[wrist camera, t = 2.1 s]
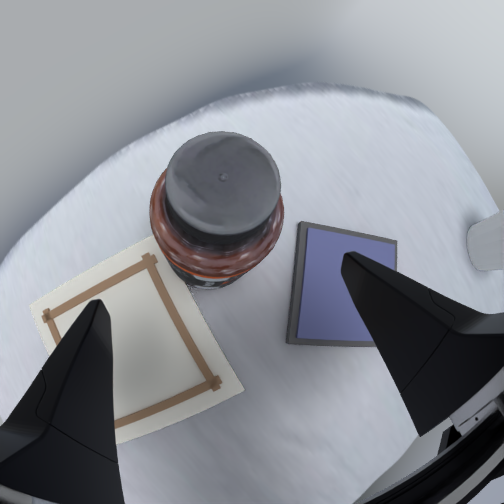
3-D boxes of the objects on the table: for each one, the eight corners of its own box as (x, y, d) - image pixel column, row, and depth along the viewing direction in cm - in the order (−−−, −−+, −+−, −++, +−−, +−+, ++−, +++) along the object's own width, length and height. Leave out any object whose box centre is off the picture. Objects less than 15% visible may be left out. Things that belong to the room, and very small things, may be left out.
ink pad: (385, 345, 21) (392, 347, 20) (285, 342, 20) (289, 344, 19) (392, 242, 23) (399, 240, 22) (298, 223, 21) (302, 219, 20)
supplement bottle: (226, 305, 19) (261, 304, 8) (152, 264, 19) (99, 212, 8) (263, 233, 21) (330, 158, 10) (193, 194, 20) (195, 89, 10)
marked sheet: (244, 389, 19) (245, 391, 18) (104, 447, 16) (103, 450, 15) (160, 231, 20) (159, 229, 19) (30, 304, 17) (26, 304, 16)
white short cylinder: (491, 231, 26) (531, 218, 19) (490, 282, 24) (533, 275, 18) (463, 210, 25) (506, 192, 18) (462, 267, 24) (511, 256, 17)
